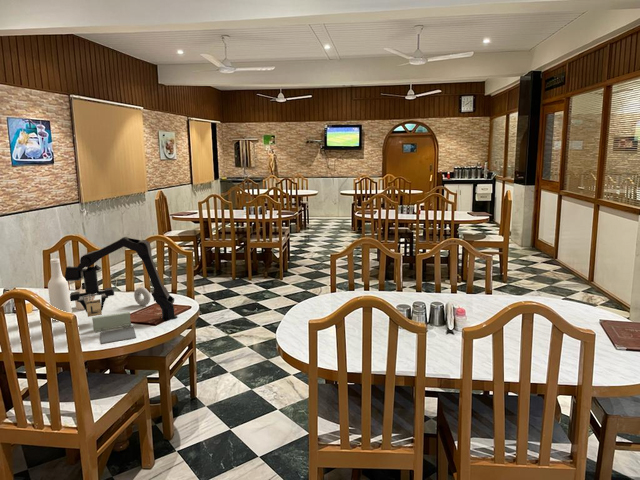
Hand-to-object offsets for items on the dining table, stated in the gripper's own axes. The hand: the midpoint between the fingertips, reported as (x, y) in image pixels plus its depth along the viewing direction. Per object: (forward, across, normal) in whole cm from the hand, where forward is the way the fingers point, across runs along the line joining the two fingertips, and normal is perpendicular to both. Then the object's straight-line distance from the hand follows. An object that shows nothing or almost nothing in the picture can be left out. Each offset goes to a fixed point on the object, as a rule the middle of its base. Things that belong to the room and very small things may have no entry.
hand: (94, 311), depth 228 cm
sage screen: (+6, -7, +10) cm, 14 cm away
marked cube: (+1, 0, 0) cm, 1 cm away
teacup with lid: (+6, +4, -30) cm, 30 cm away
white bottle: (+6, +15, -16) cm, 23 cm away
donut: (+6, -23, -17) cm, 29 cm away
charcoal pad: (+6, -9, +22) cm, 25 cm away
